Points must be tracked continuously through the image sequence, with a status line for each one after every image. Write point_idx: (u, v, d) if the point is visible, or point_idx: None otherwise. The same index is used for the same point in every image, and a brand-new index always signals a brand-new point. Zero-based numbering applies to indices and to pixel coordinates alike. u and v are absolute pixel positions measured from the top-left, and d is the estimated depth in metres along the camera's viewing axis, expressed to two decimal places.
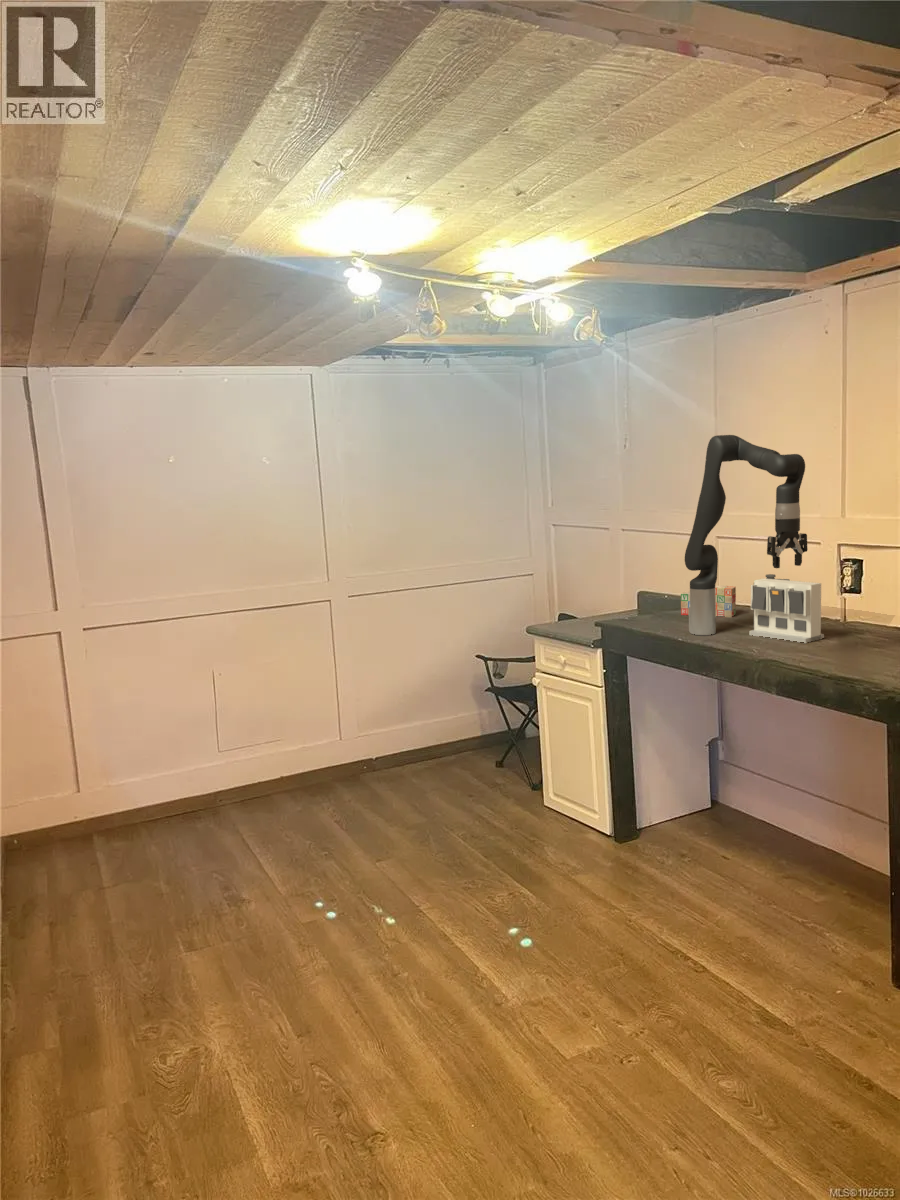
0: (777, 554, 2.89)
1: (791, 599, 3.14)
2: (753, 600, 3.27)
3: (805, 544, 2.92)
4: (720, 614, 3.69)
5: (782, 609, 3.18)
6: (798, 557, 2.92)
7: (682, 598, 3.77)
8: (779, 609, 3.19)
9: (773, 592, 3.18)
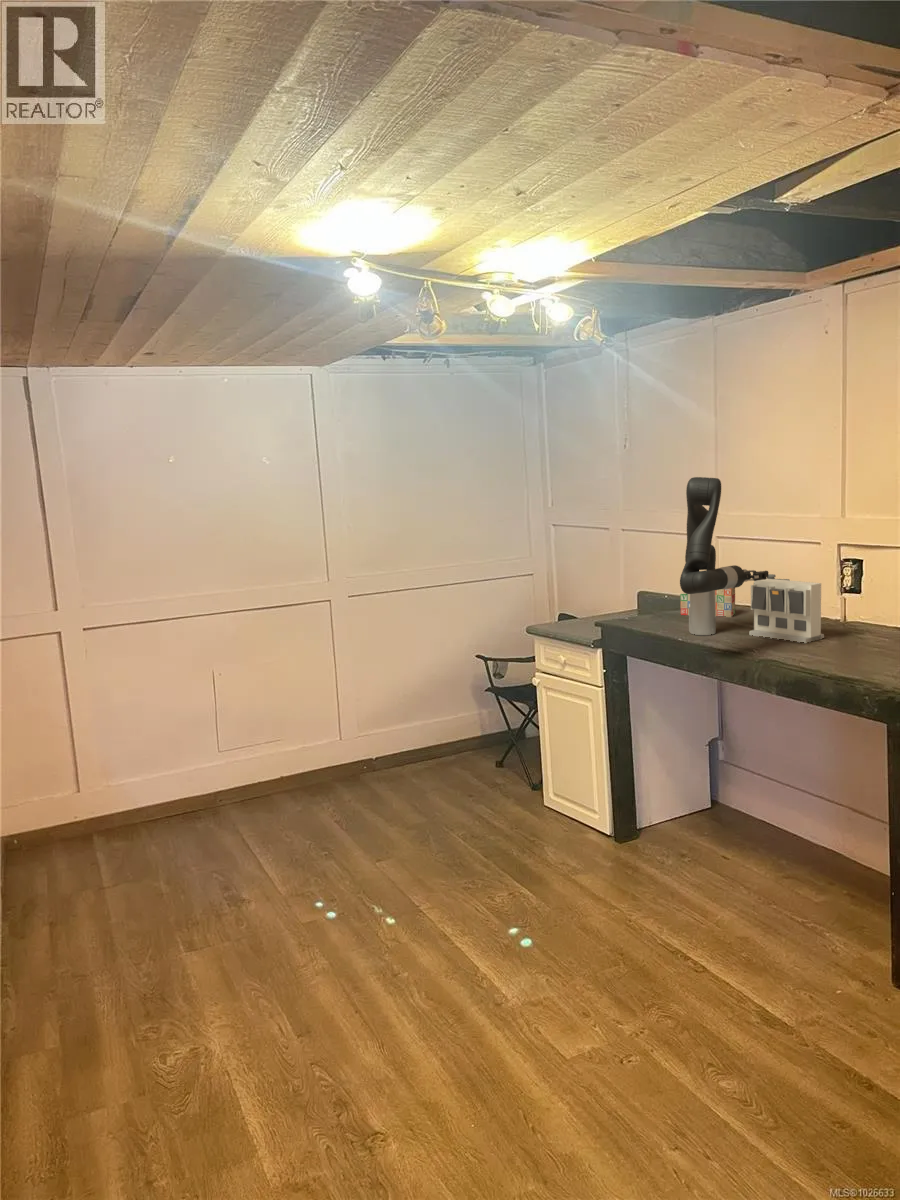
0: None
1: (791, 599, 3.14)
2: (753, 600, 3.27)
3: (760, 579, 3.02)
4: (720, 614, 3.70)
5: (782, 609, 3.18)
6: None
7: (682, 598, 3.77)
8: (779, 609, 3.19)
9: (773, 592, 3.18)
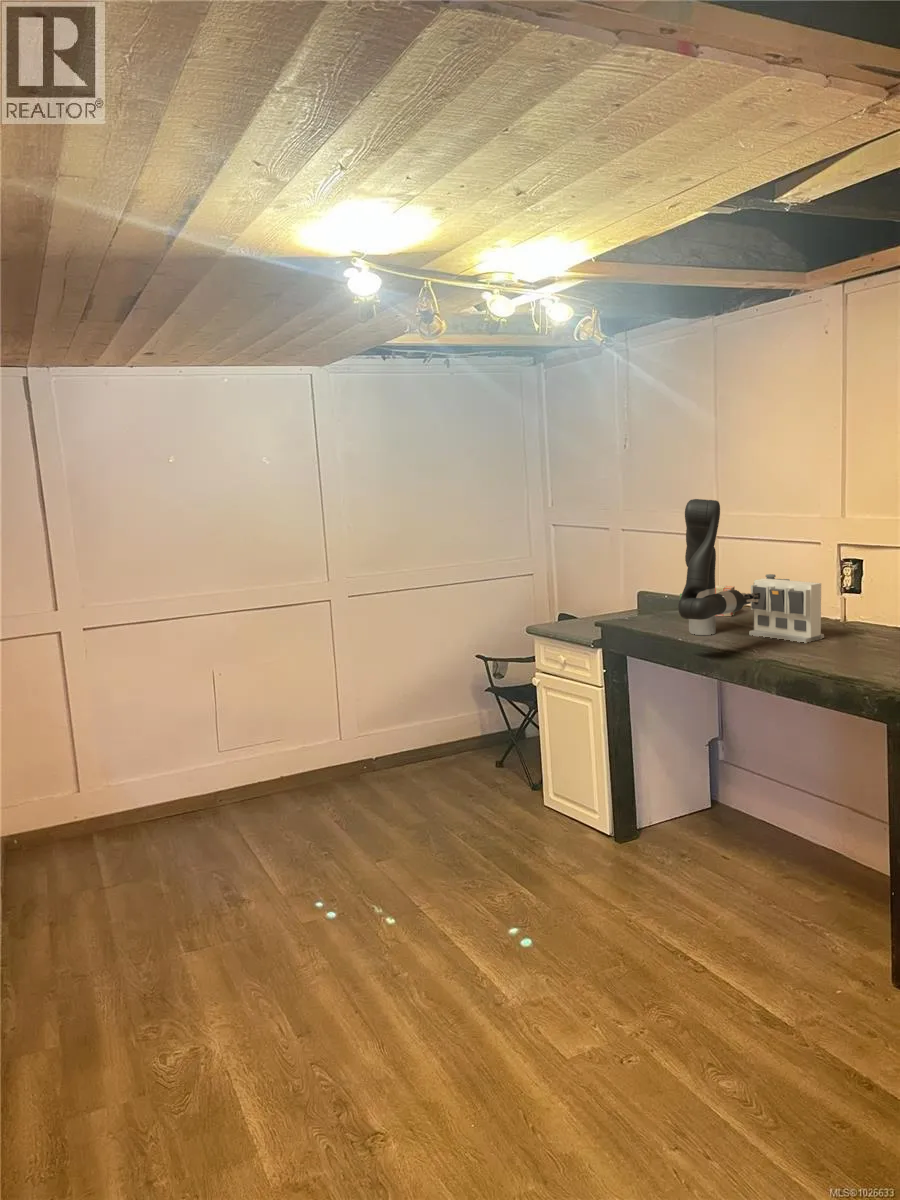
0: None
1: (791, 599, 3.14)
2: None
3: None
4: (719, 614, 3.70)
5: (782, 609, 3.18)
6: None
7: None
8: (779, 609, 3.19)
9: (773, 592, 3.18)
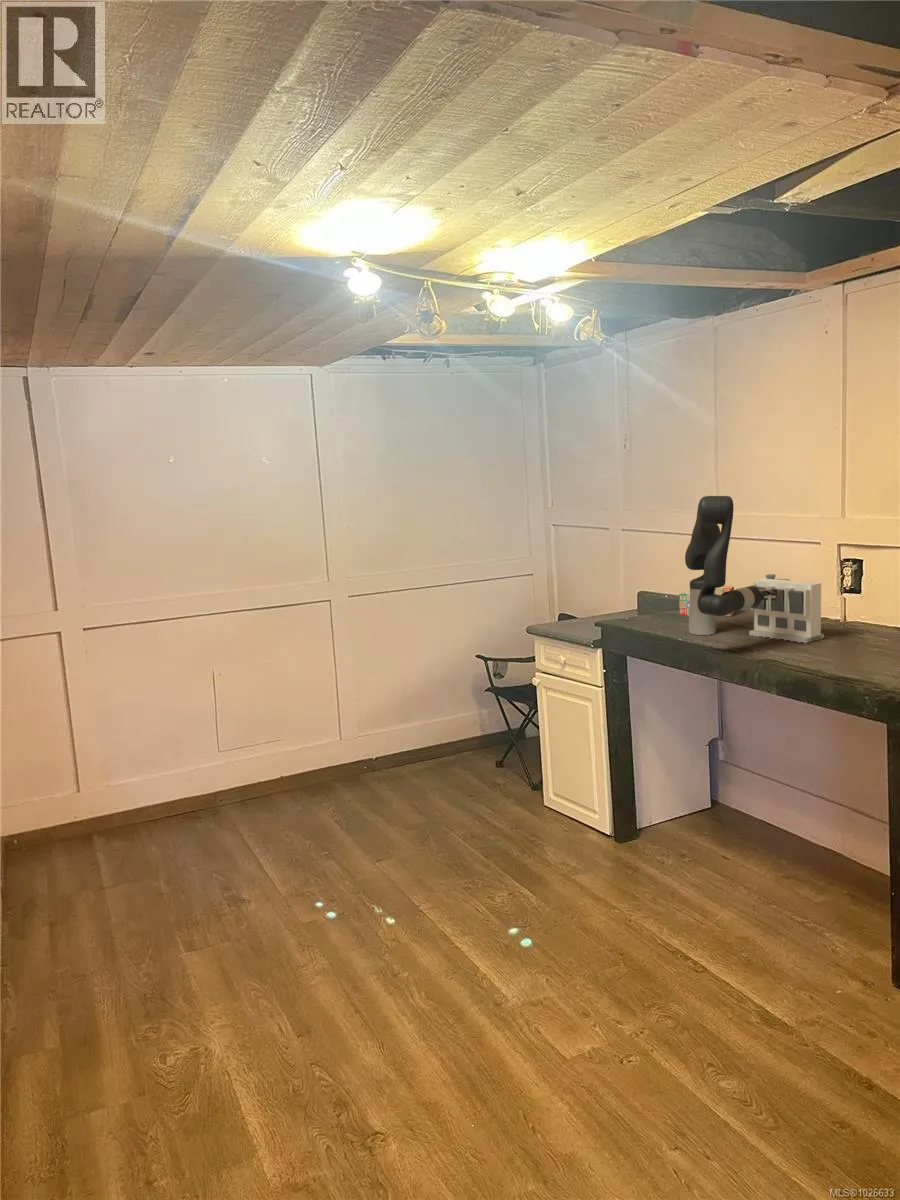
0: None
1: (791, 599, 3.14)
2: None
3: None
4: None
5: (782, 609, 3.18)
6: None
7: (680, 598, 3.78)
8: (779, 609, 3.19)
9: None
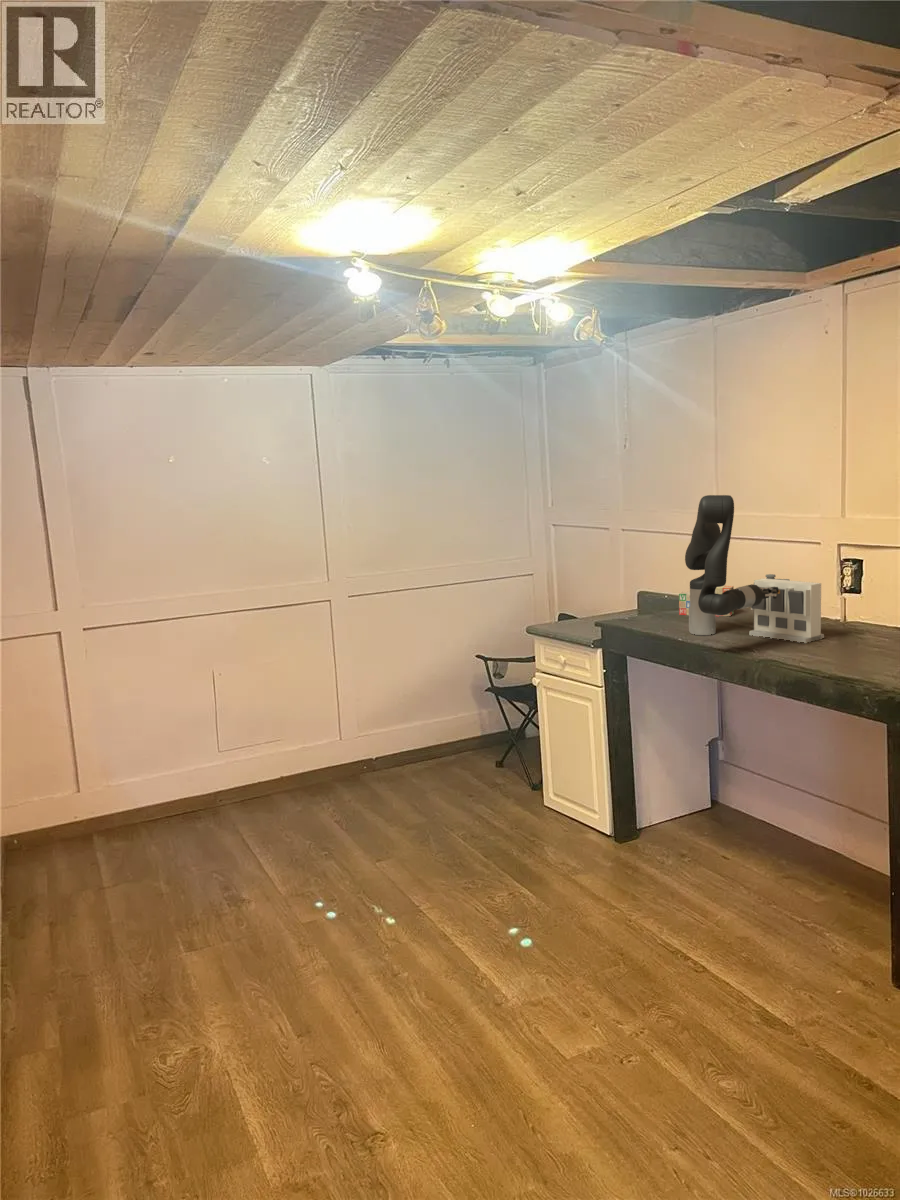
0: None
1: (791, 599, 3.14)
2: None
3: None
4: None
5: (781, 609, 3.18)
6: None
7: (680, 598, 3.78)
8: (778, 609, 3.19)
9: None
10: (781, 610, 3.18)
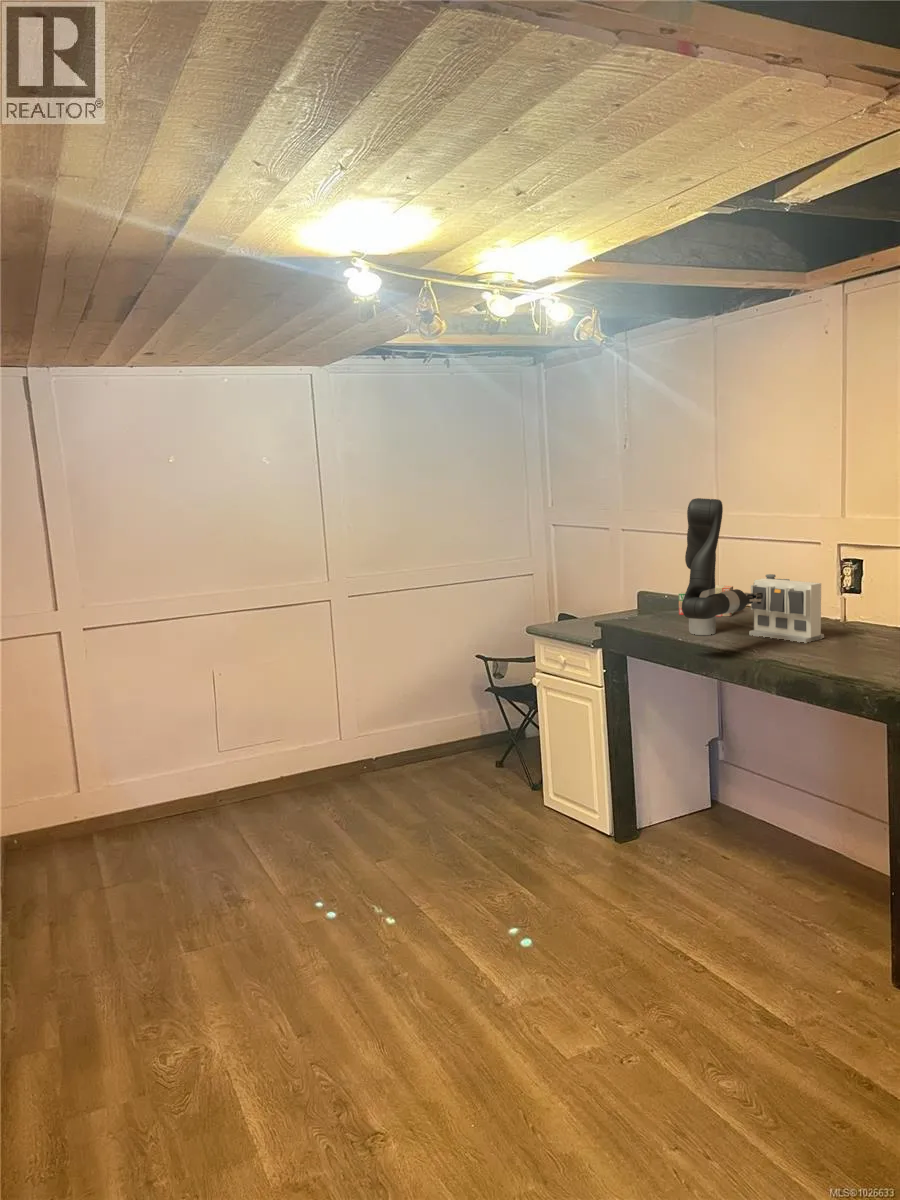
0: None
1: (791, 599, 3.14)
2: None
3: None
4: None
5: (780, 609, 3.18)
6: None
7: (680, 598, 3.78)
8: (777, 608, 3.18)
9: (775, 590, 3.19)
10: (780, 610, 3.18)
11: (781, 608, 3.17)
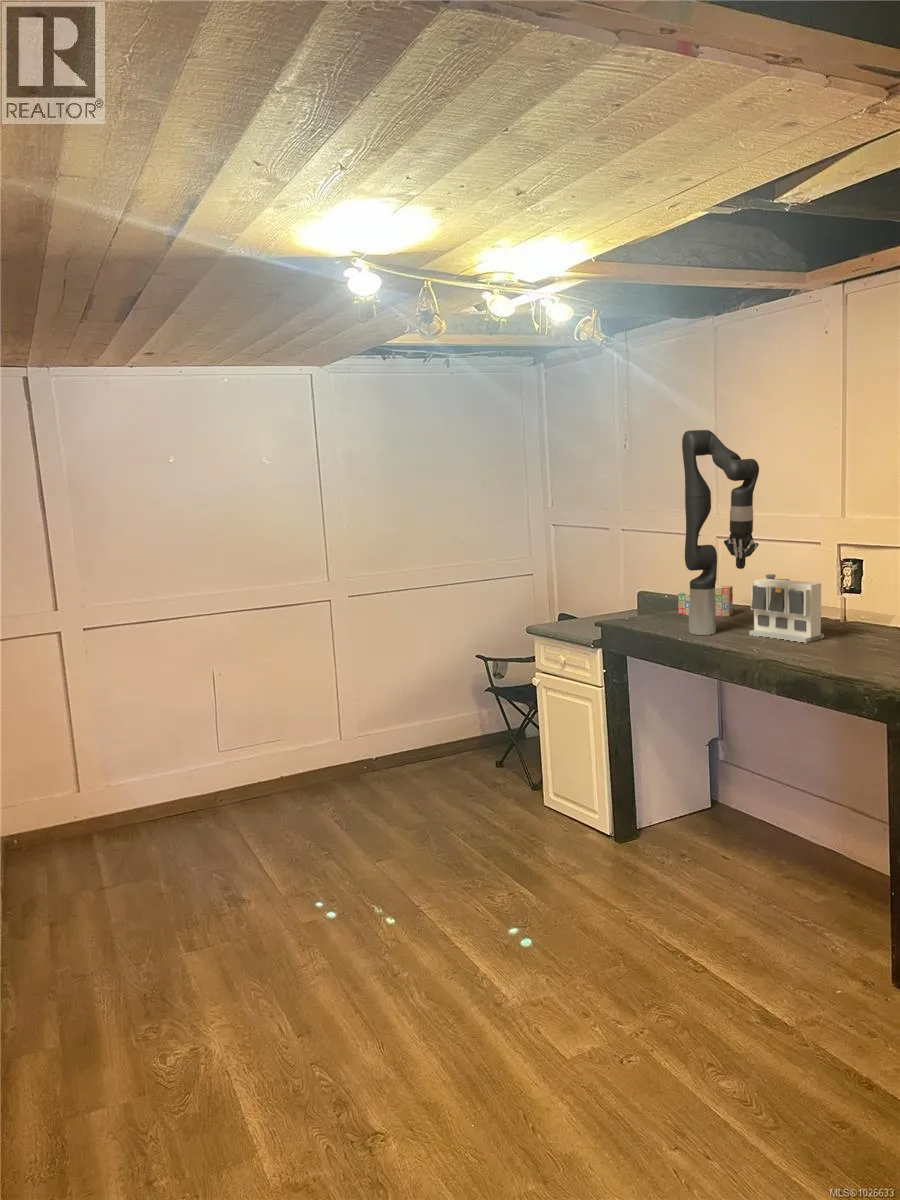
0: (735, 555, 3.08)
1: (791, 599, 3.14)
2: (753, 600, 3.27)
3: (747, 551, 3.04)
4: (717, 613, 3.71)
5: (779, 608, 3.17)
6: None
7: (679, 598, 3.78)
8: (776, 608, 3.18)
9: (776, 590, 3.19)
10: (779, 609, 3.17)
11: (780, 607, 3.17)
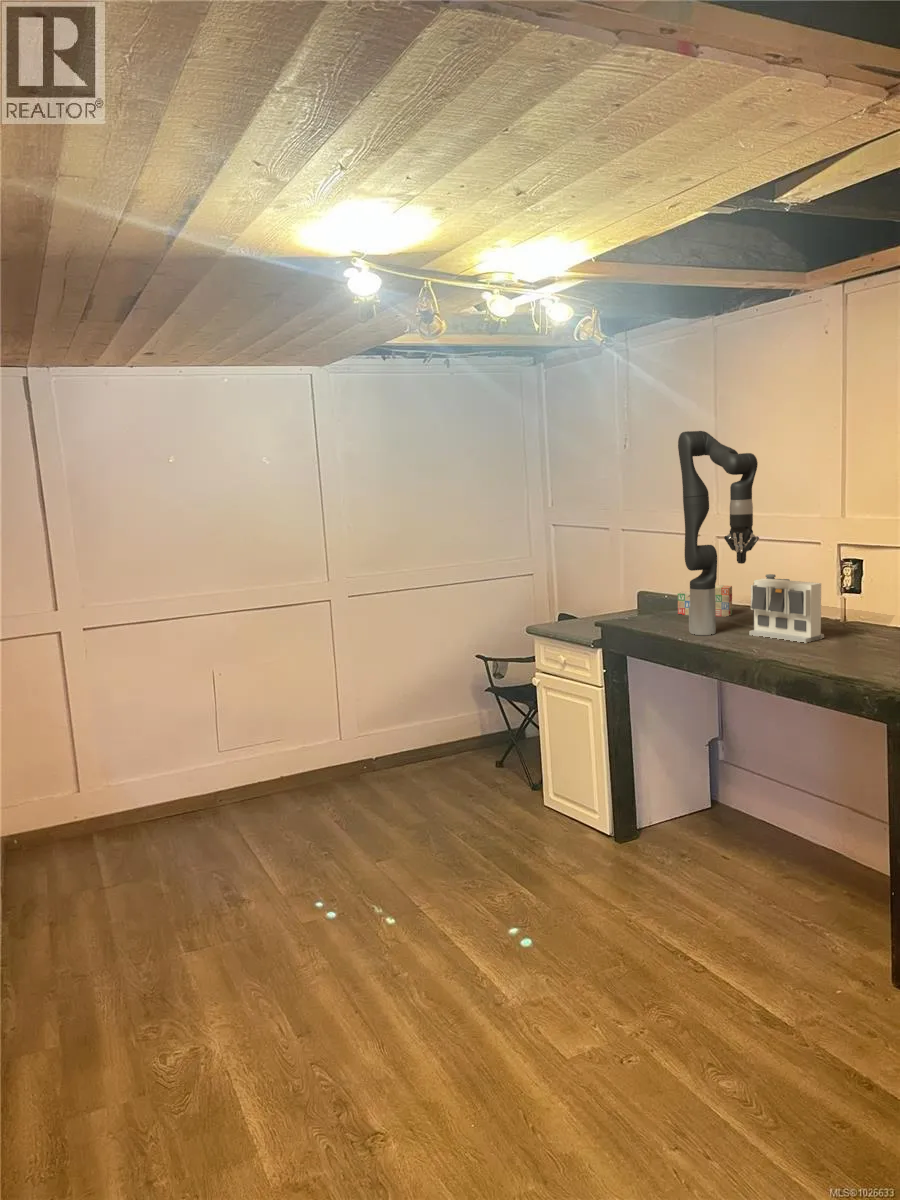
0: (736, 550, 3.08)
1: (791, 599, 3.14)
2: (753, 600, 3.27)
3: (748, 544, 3.04)
4: (717, 613, 3.71)
5: (779, 608, 3.17)
6: None
7: (679, 598, 3.78)
8: (776, 608, 3.18)
9: (776, 590, 3.19)
10: (779, 609, 3.17)
11: (780, 607, 3.17)
